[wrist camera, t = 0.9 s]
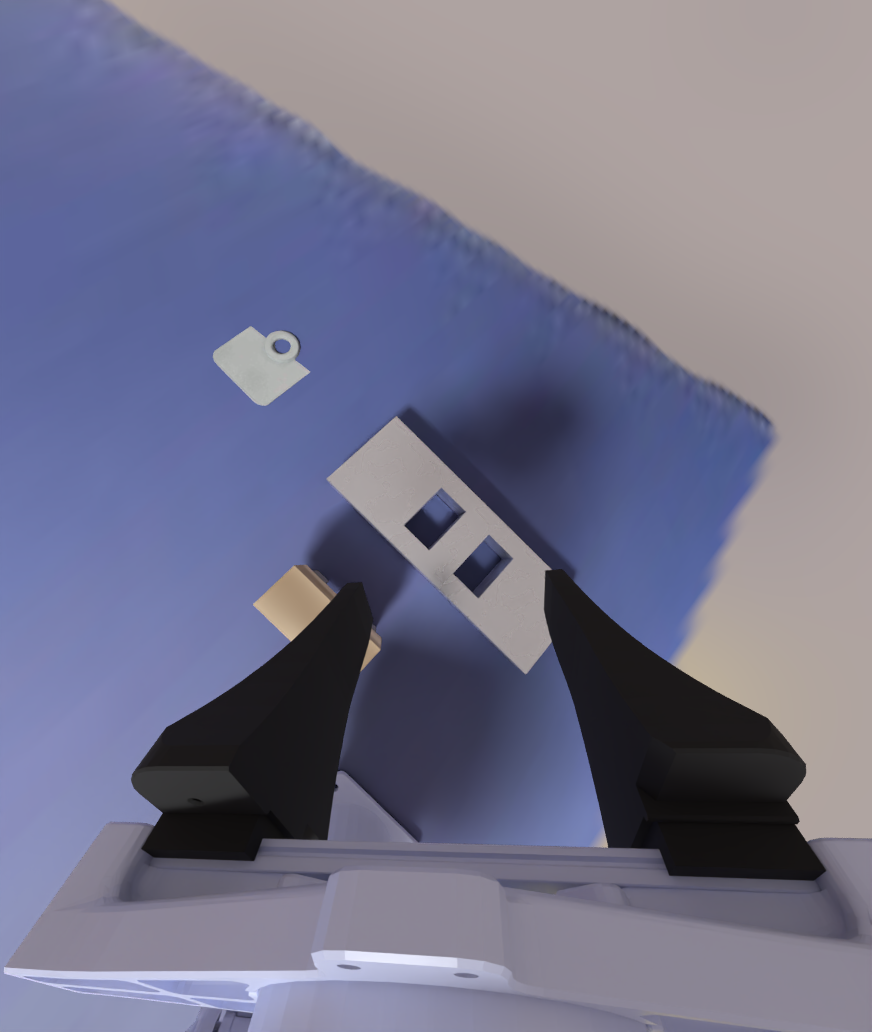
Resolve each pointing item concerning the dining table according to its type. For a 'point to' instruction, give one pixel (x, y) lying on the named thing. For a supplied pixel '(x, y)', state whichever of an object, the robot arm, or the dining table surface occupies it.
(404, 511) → the grey plate with holes
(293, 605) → the clip
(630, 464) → the dining table surface
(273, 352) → the white tag with ring
